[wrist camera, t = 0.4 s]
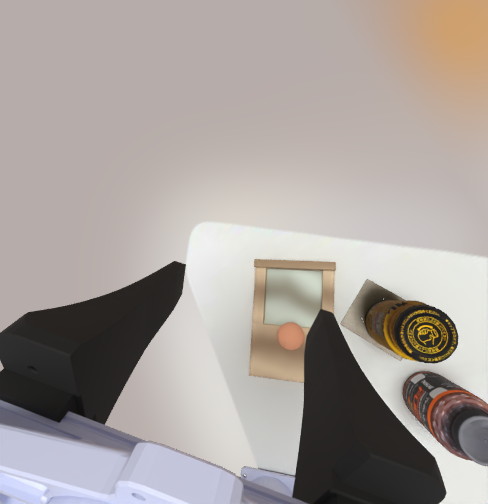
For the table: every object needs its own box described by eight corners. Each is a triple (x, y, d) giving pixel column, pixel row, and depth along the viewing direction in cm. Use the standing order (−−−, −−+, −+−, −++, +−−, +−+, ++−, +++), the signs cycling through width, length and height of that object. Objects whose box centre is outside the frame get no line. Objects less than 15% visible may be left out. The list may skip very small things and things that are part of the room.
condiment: (400, 360, 35) (447, 390, 24) (340, 324, 38) (356, 334, 26) (427, 312, 36) (487, 318, 24) (366, 279, 38) (394, 269, 26)
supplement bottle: (396, 372, 35) (437, 404, 24) (447, 368, 34) (514, 400, 23) (407, 422, 34) (456, 480, 23) (460, 420, 33) (538, 480, 22)
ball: (304, 349, 36) (304, 354, 33) (278, 346, 37) (275, 350, 34) (304, 322, 37) (304, 324, 34) (279, 320, 38) (276, 322, 34)
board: (331, 382, 36) (333, 390, 34) (251, 372, 39) (247, 378, 36) (333, 265, 39) (335, 262, 36) (258, 262, 41) (254, 259, 39)
